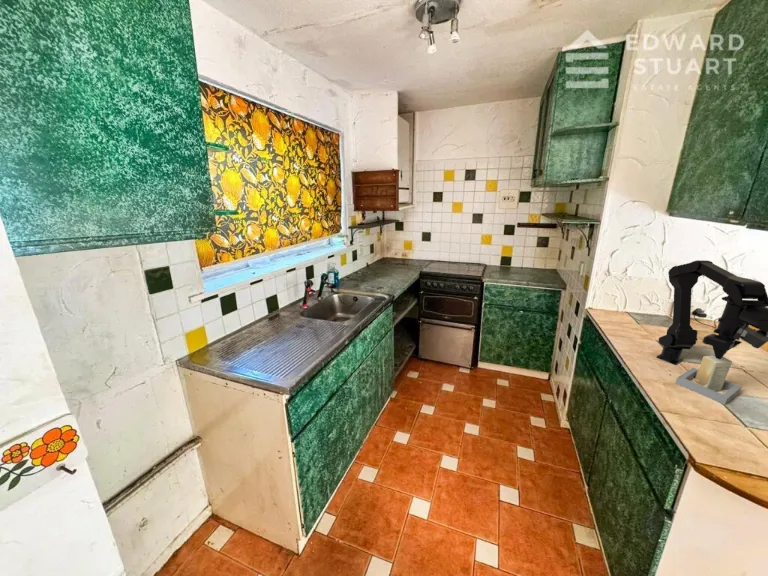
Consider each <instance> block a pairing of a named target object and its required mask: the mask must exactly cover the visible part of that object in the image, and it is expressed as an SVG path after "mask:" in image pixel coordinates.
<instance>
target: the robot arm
mask: <svg viewBox="0 0 768 576" xmlns="http://www.w3.org/2000/svg"><path fill="white" fill-rule="evenodd" d="M701 276H704V277H706V278H707V279H709V280H711V281H713V282H714V283H716V284H718V285H719V286H720V287H722V291H723V292H724V293H725V294H726V295H727V296H723V297H721V300H723V301H725V302H726V304H725V306H724V310H723V312H722V315H721V316H720V317H719V318H718V319H717V322H718V325H717V327H716V328H714V329H713V333H711V334H707V335H705V336H704V337H703V339H702V343H703V344H705V345H708V346H711V347H712V349H713V352H714V355H715V357H716V358H717V359H721V358H722V357H724V356H725V355H726V353H727V352H728V351H730V350H732V349H734V348H735V347H737V346H738V345H741V344H742V343H743V342H742V341H744V342H745V343H747V344H748V345H751V347H753V348H755V349H759V348H761V347H762V346H764V345H765V344H766V343H768V292H767V289H766V286H765V284H764V283H763V282H761V281H758V280H755V279H751V278H746V277H742V276H738V275H736V274H734V273H732V272H730V271H728V270H726V269H724V268H722V267H720V266H719V265H716V264H714V263H713V262H712V261H711V260H703V259H702V260H693V261H691V262H687V263H685V264H684V263H683V264H680V265H674V266H672V267H671V268H670V269H669V270H668V281H669V283H670V284H671V286H672V287H673V310H672V311H673V313H672V324H670V326H669V327H668V328H667V330H666V334H665V335H663V336H660V337H658V344H660V345H661V346H662V350H661V353H660V354H657V355H656V358H658V359H660V360H663V361H665V362H667V363H669V364H672V365H675V366H676V365H678V364H679V363H682V362H683V361H684V359H682V358H681V356H682V353H683V350H691V348H693V347H694V345H696V343H697V342H698V330H697V329H694V328H693V327H692V325H691V315H692V314H691V313H692V312H691V311H692V292H693V290H692V289H693V288H694V287H695V285H696V284H697V283H698V281H699V278H700V277H701ZM749 326H751V327H749ZM740 340H742V341H740Z"/></svg>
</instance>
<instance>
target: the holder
mask: <svg viewBox="0 0 768 576" xmlns="http://www.w3.org/2000/svg"><path fill="white" fill-rule="evenodd" d="M698 370H699V368H696V367H691V368H690V369H688V370H687V371H685V372H684V373H682V374H681V375H679V376H678V377H677V376H676V377H677V378H676V379H675V384H676V385H679V386H681V387H683V388H685V389H688V390H690V391H692V392H695V393H697V394H698V395H702V396H703V397H706V398H708V399H711V400H712V401H716V402H718V403H720V404H722V405H726V404H727V403H729V402H730V401H731V400H732V399H733V398H734V397H736V396H737V395H738V394H740V392H741V391H742V388H743V386H742V385H740V384H737V383H734V382H732V381H729V380H728V379H727V380H726V379H725V381H724V384H723V386H722V389H726V390H727V391H725V392H724V393H720V392H719V391H713V390H711V389H708V388H706V387H704V386H701V385H699V384H696V383H694V381H691V379H692V378H694V377H695V378H696V375H697V372H698Z"/></svg>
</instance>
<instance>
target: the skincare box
mask: <svg viewBox="0 0 768 576" xmlns="http://www.w3.org/2000/svg"><path fill="white" fill-rule="evenodd" d="M732 363H733V361H732V360H730V359H727V358H726V357H724V356H723V357H722V358H721V359H717V358H716V357H715V354H714V355H705V356H703V357H702V360H701V362H700V365H699V367H698V372H697V375H696V377H695V379H694V381H693V382H694V383H696V384H699V385H701V386H704V387H706V388H708V389H711V390H713V391H716V392H720V391H721V390H722V389H723V387H722V386H723V384H724V381H725V380H726V378H727V376H728V373H729V371H730V368H731V366H732Z"/></svg>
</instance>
